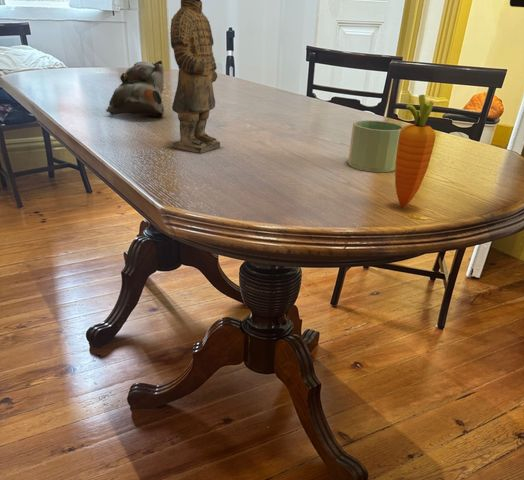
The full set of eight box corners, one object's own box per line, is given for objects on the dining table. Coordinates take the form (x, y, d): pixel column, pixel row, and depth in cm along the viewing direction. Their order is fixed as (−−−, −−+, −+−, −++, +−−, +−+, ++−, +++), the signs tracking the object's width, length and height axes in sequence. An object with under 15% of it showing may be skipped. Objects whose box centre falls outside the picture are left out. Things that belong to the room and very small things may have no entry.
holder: (399, 163, 98) (407, 123, 94) (393, 174, 91) (401, 132, 87) (353, 157, 100) (358, 118, 96) (343, 168, 93) (349, 126, 89)
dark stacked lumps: (97, 113, 123) (104, 53, 122) (141, 130, 132) (148, 74, 131) (128, 102, 113) (136, 37, 112) (174, 122, 121) (182, 61, 120)
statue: (196, 155, 95) (191, -48, 79) (164, 148, 99) (153, -49, 82) (228, 145, 103) (229, -42, 86) (197, 139, 106) (193, -43, 89)
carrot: (414, 215, 73) (440, 100, 65) (381, 208, 75) (401, 95, 67) (423, 206, 77) (448, 96, 69) (391, 199, 79) (412, 91, 71)
